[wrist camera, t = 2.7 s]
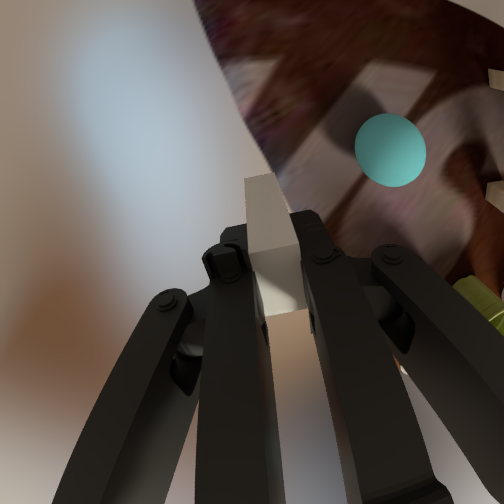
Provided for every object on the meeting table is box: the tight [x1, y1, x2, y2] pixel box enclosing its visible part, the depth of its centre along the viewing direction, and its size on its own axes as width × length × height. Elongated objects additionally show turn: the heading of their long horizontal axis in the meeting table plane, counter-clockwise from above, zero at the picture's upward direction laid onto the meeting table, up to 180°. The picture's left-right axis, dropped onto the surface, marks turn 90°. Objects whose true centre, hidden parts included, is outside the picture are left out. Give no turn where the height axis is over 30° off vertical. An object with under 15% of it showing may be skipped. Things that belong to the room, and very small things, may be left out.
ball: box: [355, 114, 426, 187], centre depth 18 cm, size 6×6×6 cm
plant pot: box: [452, 275, 504, 336], centre depth 27 cm, size 9×9×9 cm
